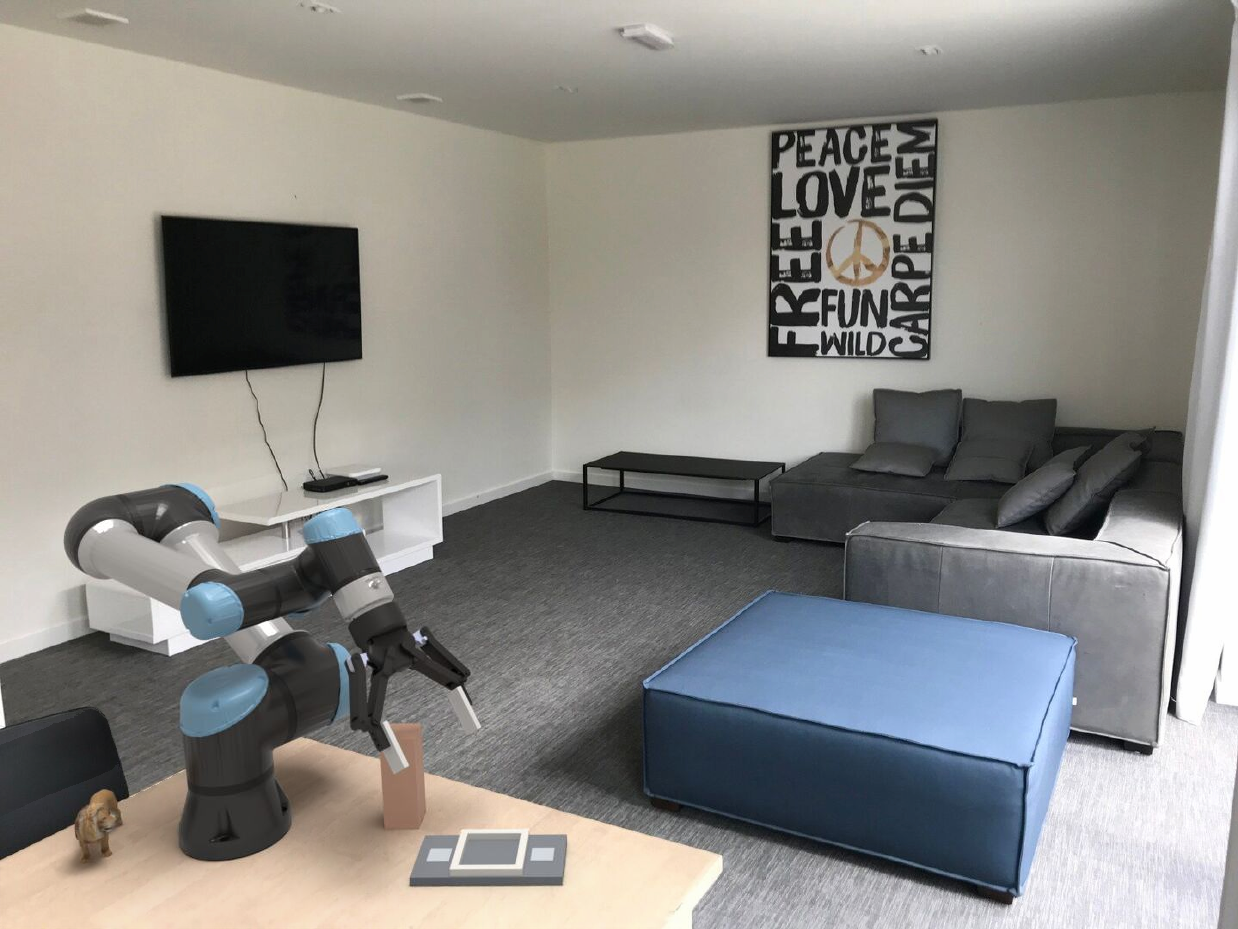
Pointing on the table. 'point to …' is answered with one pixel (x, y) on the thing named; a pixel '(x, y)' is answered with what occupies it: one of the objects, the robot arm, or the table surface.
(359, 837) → the table surface
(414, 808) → the terracotta pillar
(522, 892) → the table surface
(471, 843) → the base board
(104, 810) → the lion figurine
